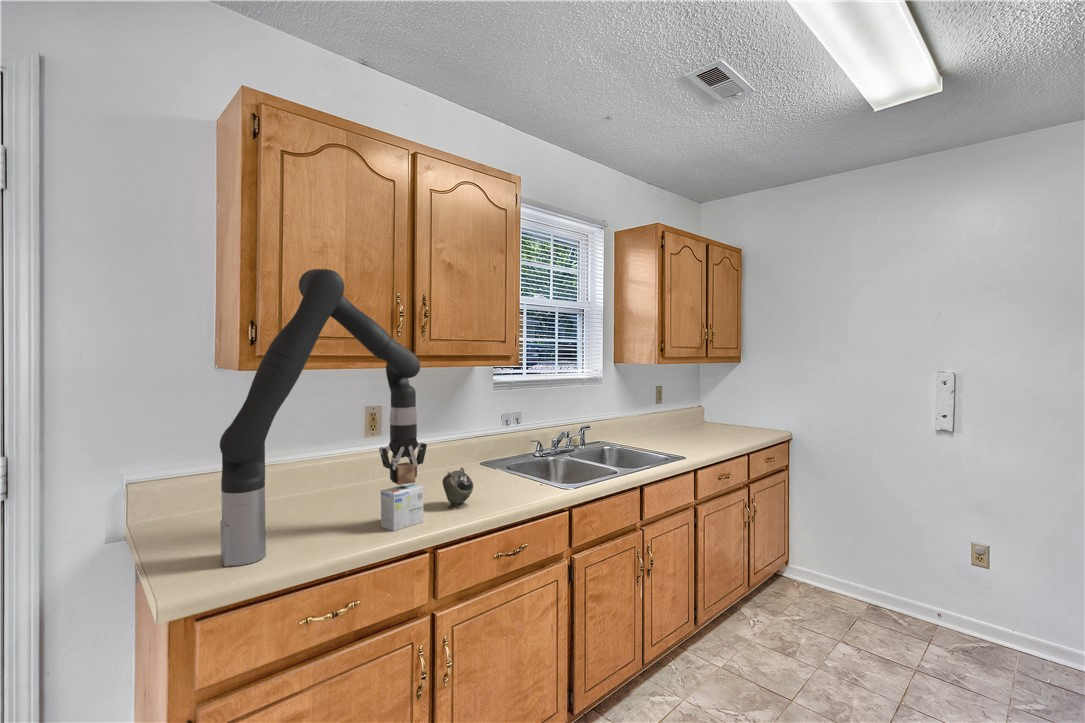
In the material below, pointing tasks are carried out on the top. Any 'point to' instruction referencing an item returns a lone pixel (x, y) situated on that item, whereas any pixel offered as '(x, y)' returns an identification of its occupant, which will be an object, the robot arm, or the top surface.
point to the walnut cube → (405, 473)
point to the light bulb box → (401, 506)
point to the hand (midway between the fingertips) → (403, 480)
